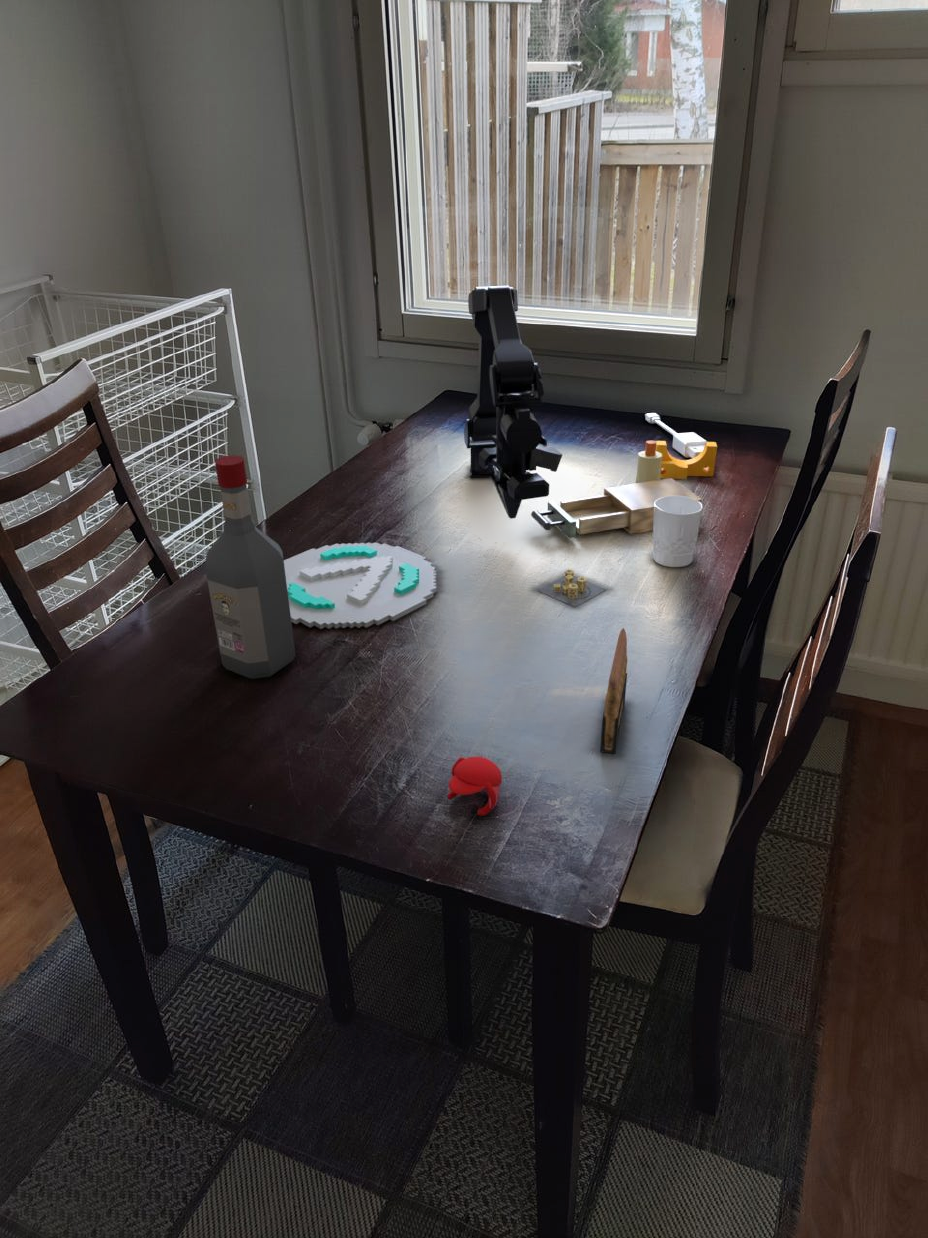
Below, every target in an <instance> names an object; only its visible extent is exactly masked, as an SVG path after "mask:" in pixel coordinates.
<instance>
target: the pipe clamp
mask: <svg viewBox="0 0 928 1238" xmlns="http://www.w3.org/2000/svg"><path fill="white" fill-rule="evenodd" d="M655 441H656V442H657V443H656V451H657V452H660V453H661V454H662V462H661V473H660V479H668V478H672V479H673V480H675V479H679V480H687V479H688V477H714V474H715V465H716V459H717V453H718V452H717V450H718V445H717V442H716V441H707V442H706V444H705V447H704V449H703V451H702V452H701V453H700V454H699V455H698V456H696V457H695V458H690V459H678V458H676V457H674V456H673V455H672V454H671V453H670V452H669V450H668V446H667V445H668V444H667V441H666V440H655Z"/></svg>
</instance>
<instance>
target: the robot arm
mask: <svg viewBox="0 0 928 1238" xmlns="http://www.w3.org/2000/svg"><path fill="white" fill-rule="evenodd" d="M518 299H519V298H518V289H515V288H514V287H512V286H510V285H497V286H494V285H493V286H492V285H491V286H475V287H474V289H472V290H471V292H469V293H468V298H467V302H468V304H467V305H468V307H467V308H468V314H469V315H471V319H472V322H473V327H474V328H475V330H476V332H477V333H478V360H477V361H478V363H477V391H476V393H477V396H476V397H475V400H473V402H472V403H471V405H470V406H469V407H468V418H466V419H465V423H464V429H463V439H464V444H465V447H466V449H469V450H470V468H469V469H470V470H469V477H470V478H490V480H491V482H492V484H493V486H494V488H495V491H496V493H497V494H498V496H499V499H500V501H501V503H502V506H503V508H504V510H505V513H506V514H507V517H508V519H510V520H511V519H516V518H517V516H518V512H519V509H520V507H521V504H522V501H524V500H531V499H537V498H545V497H548V496H549V495H550V483H549V482H548V481H546V479H545V478H543V477H542V476H541V475H540V474H539V473H538V472H535V473H534V472H533V473H531V471H536V470H537V467H538V468H542V469H545V470H549V471H551V472H553V473H555V472H557V470H558V468H559V466H560V463H561V460H562V458H563V453H562V452H561V451H559V450H558V449H557V448H555V447H553V446H551V445H550V444H548V440H547V439H546V437H544V436H543V433H542V432H543V431H542V428H541V426H540V424H539V422H538V420H537V419H536V417H535V416H534V413H533V406H541V405H542V398H544V395H545V391H544V385H543V377H542V372H541V371H542V370H541V369H540V368H539V364H538V362H535V359H534V356H533V353H532V350H531V349H530V348H529V347H528V346H526V345H525V344H523V343H522V338H521V335H520V330H519V324H518V320H517V315H516V312H518V311H519V300H518ZM532 392H534V393H532ZM523 393H524V394H523Z"/></svg>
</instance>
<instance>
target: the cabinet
mask: <svg viewBox="0 0 928 1238" xmlns="http://www.w3.org/2000/svg"><path fill="white" fill-rule="evenodd" d="M607 494H609V495H610V496H611V497H612V498H614V499H615V500H616V501H617V502H619V503H620V504H621V505H622V506H624V507H625V508H626V509H627V510H628V511H630V523H629V527H623V528H622V529H623V530H624V531H626V532H627V533H628V534H629V535H633V534H640V533H645V532H653V518H654V502H655V501H656V500H657V499H659V498H661V497H665V496H685V497H690V498H693V499H695V500H697V501H699V502H700V503H701V504H702V503H703V498H701V497H699V496H698V495H697V494H695V493H693V492H692V491H691V490H689V489H688V488H686V487H685V486H683V485H682V484H681V483H679V482H678V481H676V480H675V479H673V478H660V480H655V481H648V482H641V483H636V482H635V483H629V484H622V485H616V486H615V485H614V486H607V487H604V488H603V495H607Z"/></svg>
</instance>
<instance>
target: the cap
mask: <svg viewBox="0 0 928 1238" xmlns="http://www.w3.org/2000/svg"><path fill="white" fill-rule="evenodd" d="M451 776H452V777H451V778H450V780H449V782H448V789H449V790H450V792H448V793H447V799H448V800H449V801H451V800H453V799H454V798H455V797H457V796H468V795H473V794H477V793H479V792H481V791H483V790H485V792H486V793H487V795H488V800H487V802H486V804H485V805H484V806H483V807H481V808H478V809H477V815H478V816H479V817H483V816H484V817H485V816H486V815H487V814H489V813H491V812H492V810H493V809H494V808H495V807H496V805H497V803H498V801H499V795H500V791H501V784H502V782H503V781H502V780H503V776H502V772H501V769H500V768H499V766H498V765H497V764H496V763H495V762H494V761H492V760H491V759H488V758H486V757H483V756H469V757H466V758H465V757H462V756H461V757H459V758H458V759H457V760H456V761H455V762H454V764H453V765H452V768H451Z"/></svg>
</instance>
